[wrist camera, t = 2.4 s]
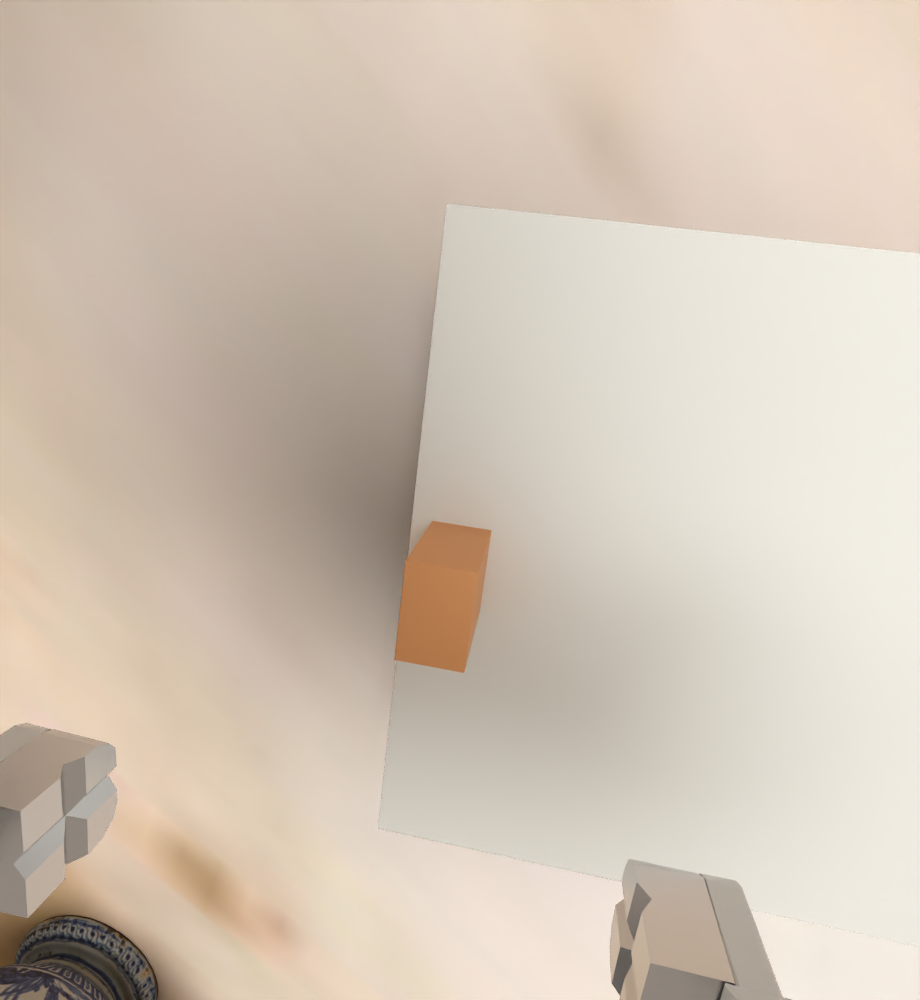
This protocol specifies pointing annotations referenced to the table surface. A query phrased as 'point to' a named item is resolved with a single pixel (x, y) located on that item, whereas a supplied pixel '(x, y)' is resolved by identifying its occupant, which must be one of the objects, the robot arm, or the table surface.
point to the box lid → (668, 563)
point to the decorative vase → (77, 964)
